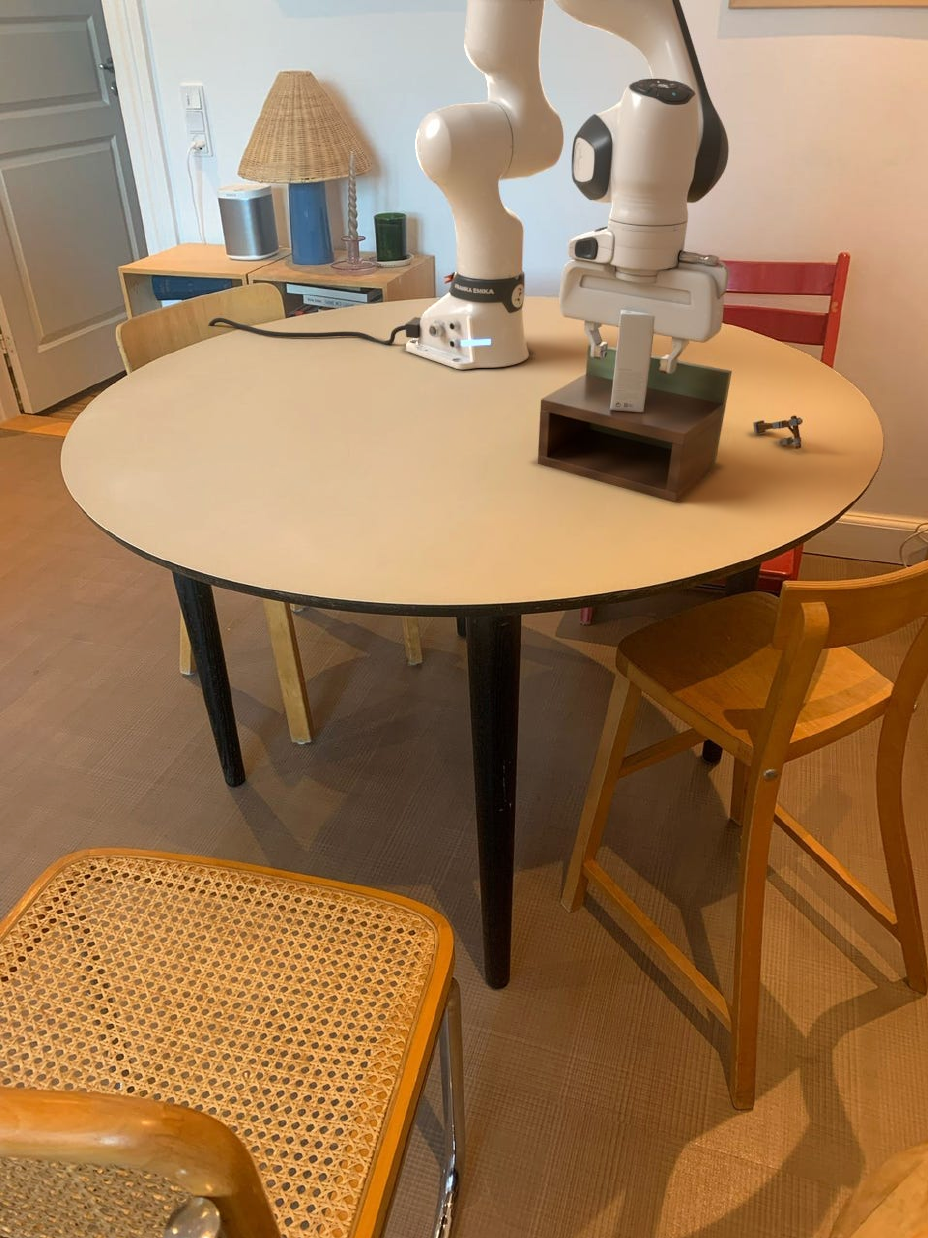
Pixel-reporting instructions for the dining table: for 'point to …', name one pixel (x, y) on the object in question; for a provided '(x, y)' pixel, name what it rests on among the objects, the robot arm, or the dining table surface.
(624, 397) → the cosmetic box
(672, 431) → the shelf
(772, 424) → the wooden post with brackets
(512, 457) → the dining table surface
